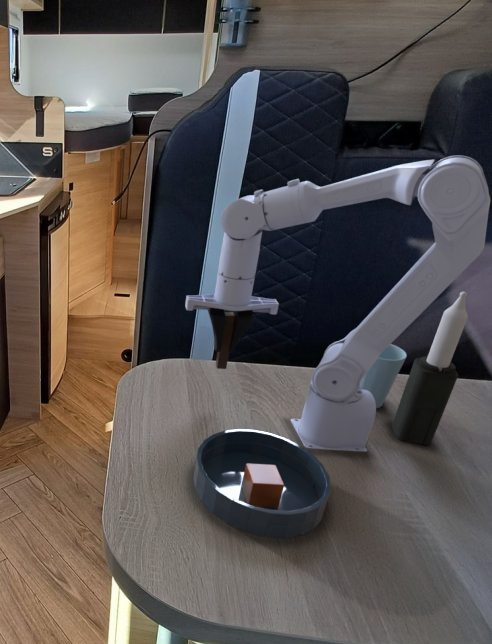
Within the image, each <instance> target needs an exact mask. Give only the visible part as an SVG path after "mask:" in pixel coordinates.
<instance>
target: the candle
mask: <svg viewBox="0 0 492 644" xmlns="http://www.w3.org/2000/svg"><path fill="white" fill-rule="evenodd" d="M467 296H468V293H467V292H466V291H461V292H460V293H459V296H458V298H457V299H456V300H455V302H454V303H453V304H452V305H450V306H449V307H448V308H447V309H445V310H444V311H443V314H442V316H441V319H440V322H439V325H438V327H437V330H436V332H435V335H434V338H433V342H432V344H431V346H430V349H429V351H428V354H427V355H423V356H421V357H416V358H415V359H414V361H413V363H412V367H411V369H410V373H409V375H408V378H407V381H406V383H405V387H404V389H403V391H402V394H401V398H400V400H399V404H398V406H397V409H396V412H395V414H394V418H393V420H392V423H391V429H392V431H393V434H394V436H395V438H396V439H397V440H399V441H402V442H405V443H406V442H408V443H413V444H418V445H422V446H426V447H427V446H431V445H432V442H433V441H434V438H435V435H436V432H437V430H438V427H439V425H440V423H441V420H442V417H443V416H444V415H443V414H444V413H445V409H446V408H447V405H448V402H449V400H450V398H451V395H452V392H453V390H454V388H455V385H456V383H457V380H458V378H459V374H458V372H457V370H456V365H455V364H454V363H453V362H452V359H453V357H454V354H455V351H456V349H457V346H458V345H459V341H460V338H461V336H462V334H463V330H464V328H465V325H466V323H467V321H468V318H469V315H468V312H467V310H466V297H467Z"/></svg>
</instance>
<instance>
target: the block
mask: <svg viewBox="0 0 492 644" xmlns="http://www.w3.org/2000/svg"><path fill="white" fill-rule="evenodd" d="M241 486H242V489H243V492H244V495H245V498H246V501H247V504H249V505H251V506H255V507H270V508H278V507H279V503H280V500H281V496H282V492H283V488H284V483H283V481H282V479H281V477H280V474H279V472H278V470H277V467H276V465H266V464H249V463H246V466H245V471H244V475H243V480H242V485H241Z"/></svg>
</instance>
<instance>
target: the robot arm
mask: <svg viewBox="0 0 492 644" xmlns="http://www.w3.org/2000/svg"><path fill="white" fill-rule="evenodd" d="M434 162H435V159H426V160H420V161H413V162H408V163H402V164H398V165H393V166H391V167H388V168H383V169H380V170H377V171H373V172H369V173H366V174H361V175H359V176H358V175H357V176H355V177H352V178H348V179H344V180H341V181H338V182H333V183H330V184H327V185H324V186H319V185H317V184H315V183H313V182H311V181H309V180H305V181H300V179H299V178H296V179H292V180H290V181H287V183H286V184H287V185H286V186H281V187H278V188H274V189H271V190H266V191H264V189H258V190H255V191H254V192H253V194H252V195H251V194H250V195H246V196H243V197H240V198H239V199H236V200H233V201H232V202H230V203H229V204H228V205H227V206H225V207H224V209H223V210H222V212H221V215H220V225H221V228H222V230H223V238H222V243H221V248H220V255H219V261H218V262H219V263H218V268H217V275H216V283H215V289H214V293H208V294H207V293H206V294H196V295H189V294H188V295H186V296H185V297H186V298H185V303H184V304H185V305H184V306H185V310H186V311H191V312H192V311H194V310H203V311H207V313H208V316H209V319H210V322H211V327H212V333H213V347H214V350H215V352H216V353H217V352H220V351H221V346H222V336H223V332H224V328H225V324H226V321H227V320H226V318H225V313H224V312H233V313H234V315H235V321H234V326H233V332H232V338H231V344H230V349H229V353H234V351H235V349H236V347H237V345H238V343H239V341H240V339H241V337H242V335H244V333H245V332H246V330H247V329H249V327H250V326H251V325H252V324H253V322H254V318H255V317H254V315H253V313H268V314H269V315H277V314H278V310H279V306H280V303H279V302H278V301H277V299H276V298H265V297H259V296H252V295H253V289H254V283H255V278H256V272H257V267H258V262H259V255H260V250H261V242H262V236H263V231H268V232H270V231H276V230H281V229H285V228H288V227H295V226H298V225H303V224H309V223H312V222H313V223H314V222H315V221H316V220H317V219H318V218H319V216H320V214H321V213H322V212H323V211H324V210H330V209H335V208H339V207H345V206H350V205H355V204H360V203H366V202H370V201H377V200H381V199H391V200H393V201H395V202H399V203H400V204H404V205H407V206H411V205H412V203H413V202H414V199H415V198H417V201H418V203H419V205H420V207H421V209H422V211H423V213H424V214H425V215H426V216H427V217H428V219H429V220H430V222H431V226H432V232H433V236H434V243H433V244H432V245H430V247H429V248H428V249H427V250H426V251H425V253H424V254H422V256H421V257H419V259H418V260H417V261H416V262H415V263H414V264H413V266H412V267H410V269H409V270H408V271H407V272H406V273H405V274H404V275H403V277H402V278H401V279H400V280H399V281H398V282H397V283H396V284H395V285H394V286H393V287H392V288H391V290H390V291H389V292H388V293H387V294H386V295H385V296H384V297H383V298H382V299H381V301H379V302H378V304H377V305H376V306H375V307H374V308H372V310H371V311H370V312H369V314H368V315H367V316H366V317H365V318H364V319H363V320H362V321H361V322H360V323H359V325H357V327H355V328H354V329H352V330H351V331H350V332H349V333H348V334H347V335H346V336H345V337H344V338H342V339H339V340H338V341H334V342H332V343H331V344H329V345H328V346H327V348H326V349H325V351H324V353H323V356H322V358H321V359H320V362H319V364H318V365H317V366H316V367H315V369H314V370H313V372H312V374H311V380H310V383H309V387H308V390H307V394H306V398H305V402H304V407H303V410H302V414H301V417H300V418H290V419H289V420H290V422H291V425H292V426H293V428H294V429H295V431H296V433H297V435H298V437H299V439H300V440H301V443H302V444H303V446H304V448H305V449H312V450H313V449H314V450H327V451H328V450H330V451H349V452H365V453H366V452H368V449H367V447H366V446H367V445H368V444H367V443H368V440H369V438H370V434H371V431H372V428H373V425H374V423H375V420H376V415H377V408H376V403H375V399H374V397H373V395H372V394H371V392H369V391H368V390H364V389H360V382H361V379H362V378H363V376H364V375H365V374H366V373H367V372H368V371H369V370H370V368H371V367H372V366H373V364H374V363H375V361H376V360H377V358H378V357H379V356H380V354H381V353H382V352H383V351H384V350H385V349H386V348H387V347H388V346H389V345H390V344H392V343H393V342H394V341H395V340H396V339H397V338H398V337H399V336H401V334H402V333H403V332H405V330H406V329H407V328H408V327H409V326H410V325H412V323H413V322H414V321H415V320H416V319H417V318H418V317H419V316H420V315H422V313H423V312H424V311H425V310H426V309H427V308H428V307H429V306H430V305H431V304H432V303H433V302H434V301H435V300H436V299H438V297H439V296H440V295H441V294H442V293H443V292H444V291H445V290H446V289H447V288H448V287H449V286H451V284H452V283H453V282H454V281H455V280H456V279H457V278H458V277H459V276H460V275H461V274H462V273H463V272H464V271H465V270H466V269H467V268H468V267H469V266H470V265H471V264H472V263H473V262H474V261H475V260H476V259H477V258H478V257H479V256H481V254H482V252H483V251H484V248H485V244H486V237H487V228H488V221H489V220H488V219H489V212H490V205H491V196H490V191H489V186H488V182H487V179H486V176H485V173H484V169H483V167H482V166H481V164H480V163H479V162H478V161H477V160H476V159H474V158H472V157H470V156H466V155H460V154H459V155H458V154H457V155H450V156H445V157H444V158H441V159H440V160H438V161H436V162H435V163H434Z"/></svg>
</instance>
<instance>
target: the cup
mask: <svg viewBox="0 0 492 644" xmlns="http://www.w3.org/2000/svg"><path fill="white" fill-rule="evenodd" d="M407 357H408V356H407V352H406V351H405V350H404V349H402V348H400V347H399V346H397V345H396V344H392V343H391V344H390V345H389V346H388V347H387V348H386V349H385V350H384V351H383V352H382V353H381V354H380V356H379V357H378V358H377V360H376V361H375V363H374V364H373V366H372V367H371V368H370V370H369V371H368V372H367V373H366V374H365V375H364V376H363V378H362V379H361V382H360V389H364V390H368V391H369V392H371V394H372V395H373V397H374V399H375V403H376V409H379V408H381V407H382V406H383V405H384V403H385V401H386V398H387V397H388V395H389V392H390V391H391V389H392V386H393V384H394V383H395V380H396V379H397V377H398V374H399V373H400V371H401V369H402V367H403V365H404V363H405V361H406V359H407Z"/></svg>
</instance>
